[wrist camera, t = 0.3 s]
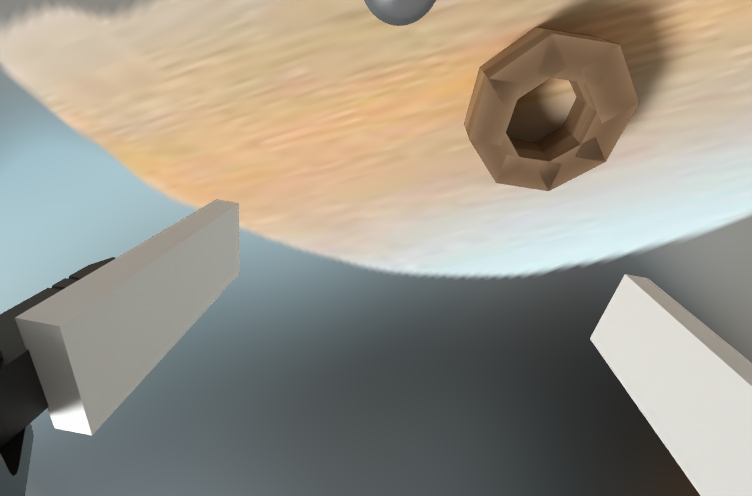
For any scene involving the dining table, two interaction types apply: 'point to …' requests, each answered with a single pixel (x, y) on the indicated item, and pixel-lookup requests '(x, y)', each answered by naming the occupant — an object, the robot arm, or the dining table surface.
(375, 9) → the copper-banded metal rod
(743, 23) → the dining table surface
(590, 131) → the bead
